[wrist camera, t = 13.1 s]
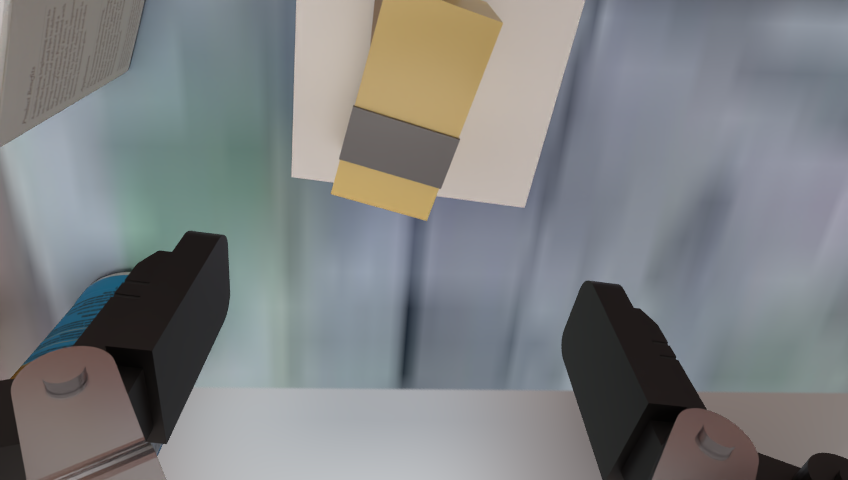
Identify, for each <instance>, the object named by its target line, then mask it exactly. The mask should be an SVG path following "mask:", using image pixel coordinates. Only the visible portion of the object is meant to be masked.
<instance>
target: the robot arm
mask: <svg viewBox="0 0 848 480" xmlns="http://www.w3.org/2000/svg"><path fill="white" fill-rule="evenodd" d="M229 300H230V281H229V260H228V242H227V238H226V236H225V235H220V234H212V233H204V232H196V231H188V232H186V233H185V235H184V236H183V237H182V239H181V240H180V242H179V243H178V244H177V246H176V247H175V249H174V250H173V251H172V252H167V251H157V252H156V253H154V254H152V255H151V256H149V257H147V258H146V259H144V260H142V261H141V262H139V263H138V264H137V265H136V266H135V267H134V269H133V270H132V271H131V272H130V274H129V275H128V276H127V277H126V279H125V282H124V283H122V284H121V285H120V286H119V288H118V289H117V290H116V291H115V293H114V297H111V298H110V299H109V300H108V302H107V303H106V304H105V305H104V307H103V308H102V309H101V310H100V312H99V313H98V314H97V315H96V317H95V318H94V319H93V321H92V322H91V323H90V324H89V326H88V327H87V328H86V329H85V331H84V332H83V333H82V335H81V336H80V337H79V338H78V340H77V341H76V342H75V343H74V345H73V346H72V347H66V348H62V349H58V350H55V351H52V352H49V353H47V354H45V355H42V356H40V357H38V358H37V359H35V360H33V361H32V362H30V363H29V364H28V365H26V366H25V367H24V368H23V369H22V370H21V371H20V372H19V373H18V375H17V376H16V377H15V378H14V379H8V380H2V381H0V480H166V478H165V475H164V473H163V471H162V468H161V465H160V462H159V460H158V457H157V455H156V452H155V450H154V448H153V446H152V444H151V443H160V444H167V442H168V440H169V438H170V436H171V434H172V431H173V429H174V427H175V425H176V423H177V421H178V419H179V416H180V414H181V412H182V410H183V408H184V406H185V404H186V401H187V399H188V397H189V395H190V393H191V391H192V389H193V387H194V385H195V382H196V380H197V378H198V376H199V374H200V372H201V370H202V367H203V365H204V363H205V361H206V359H207V357H208V355H209V352H210V350H211V348H212V346H213V344H214V342H215V340H216V338H217V335H218V333H219V331H220V329H221V327H222V325H223V323H224V320H225V318H226V315H227V311H228V306H229ZM667 343H668V342H667V340H666V338H665V337H664V335H663V333H662V332H661V330H660V328H659V326H658V325H657V324H656V323H655V322H654V321H653V320H652V319H651V318H650V317H649V316H647V315H646V314H645V313H644V312H643V311H642V310H641V309H638V308H633V306H632V304H631V302H630V300H629V298H628V297H627V295H626V293H625V291H624V289H623V288H622V286H621V285H619V284H611V283H603V282H595V281H585V282H584V283H583V284H582V286H581V288H580V290H579V293H578V295H577V298H576V301H575V303H574V306H573V308H572V311H571V313H570V316H569V319H568V321H567V324H566V326H565V329H564V332H563V336H562V356H563V360H564V363H565V366H566V369H567V372H568V375H569V378H570V381H571V385H572V388H573V391H574V394H575V397H576V400H577V403H578V406H579V409H580V412H581V415H582V418H583V421H584V424H585V427H586V431H587V434H588V436H589V440H590V443H591V446H592V449H593V452H594V455H595V458H596V461H597V464H598V467H599V470H600V473H601V476H602V479H603V480H848V459H846V458H844V457H841V456H838V455H835V454H830V453H818V454H815V455H813V456H811V457H810V458H809V459H808V461H807V462H806V463H805V464H804V465H803V467H802V468H799V467H796V466H793V465H791V464H788V463H785V462H783V461H780V460H777V459H774V458H771V457H769V456H766V455H763V454H760V453H758V452H757V450H756V447H755V446H754V444H753V442H752V441H751V440H750V438H749V437H748V436H747V435H746V434H745V433H744V432H743V430H741V429H740V428H739V427H738V426H737V425H736V424H734V423H733V422H731V421H730V420H728V419H727V418H725V417H723V416H721V415H719V414H717V413H715V412H712V411H709V410H707V409H706V407H705V406H704V404H703V402H702V401H701V399H700V398H699V395H698V394H697V392H696V390H695V388H694V387H693V385H692V383H691V382H690V380H689V378H688V376H687V375H686V373H685V371H684V369H683V368H682V366H681V364H680V363H679V361H678V360H676V356H675V354H674V352H673V351H672V349H671V347H670V346H668V345H667ZM146 442H148V443H146Z"/></svg>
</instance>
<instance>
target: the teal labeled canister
mask: <svg viewBox="0 0 848 480" xmlns="http://www.w3.org/2000/svg"><path fill="white" fill-rule="evenodd" d="M129 274H130V272H122V273H116V274H111V275H108V276H105V277H103V278H101V279H99V280H97V281H96V282H94V283H93V284H91V285H90V286H89V287H88V288H87V289H86V290H85V291H84V292H83V294H82V295H81V296H80V297H79V298H78V300H77V301H76V303H75V304H74V306H73V307H72V308H71V309H70V310H69V312H68V313H67V314H66V315H65V316H64V317H63V319H62V320H61V321H60V322H59V323H58V324H57V326H56V327H55V328H54V329H53V330H52V331H51V333H50V334H49V335H48V336H47V337H46V338H45V339H44V341H43V342H42V343H41V344H40V345H39V346H38V347H37V349H36V350H35V351H34V352H33V353H32V354H31V356H30V357H29V358H28V359H27V360H26V361H25V362H24V364H23V365H22V366H21V367H20V368H19V369H18V371H17V372H16V373H15V374H14V375H13V376H12V377H11V379H14V378H15V377H16V376H17V375H18V373H19V372H20V371H21V370H22V369H23V368H24V367H25V366H26V365H28V364H29V363H30V362H32V361H33V360H35V359H37V358H38V357H40V356H42V355H45V354H47V353H49V352H52V351H55V350H58V349H62V348H66V347H72V346H73V345H74V343H75V342H76V341H77V340H78V338H79V337H80V336H81V335H82V333H83V332H84V331H85V329H86V328H87V327H88V326H89V324H90V323H91V322H92V321H93V319H94V318H95V317H96V315H97V314H98V313H99V312H100V310H101V309H102V308H103V307H104V305H105V304H106V303H107V302H108V300H109V299H110V298H111V297H114V293H115V291H116V290H117V289H118V288H119V286H120V285H121V284H122V283H124V282H125V279H126V277H127V276H128V275H129ZM146 443H148V442H146ZM151 444H152V446H153V448H154V450H155V452H156V455H157V456H158V454H159V451H160V449H161V447H162V445H163V444H160V443H151Z"/></svg>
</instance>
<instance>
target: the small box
mask: <svg viewBox="0 0 848 480" xmlns="http://www.w3.org/2000/svg"><path fill="white" fill-rule="evenodd" d="M144 2H145V0H0V147H2V146H3V145H5V144H6V143H8V142H10V141H12V140H13V139H15V138H17V137H18V136H20V135H22V134H23V133H25V132H27V131H28V130H30V129H32V128H33V127H35V126H36V125H38V124H40V123H42V122H43V121H45V120H47V119H48V118H50V117H52V116H53V115H55V114H57V113H59V112H60V111H62V110H64V109H65V108H67V107H68V106H70V105H72V104H74V103H75V102H77V101H79V100H80V99H82V98H84V97H85V96H87V95H89V94H90V93H92V92H94V91H95V90H97V89H99V88H100V87H102V86H104V85H106V84H107V83H109V82H110V81H112V80H114V79H115V78H117V77H119V76H120V75H122V74H124V73H125V72H127V71H128V69H129V65H130V61H131V56H132V52H133V48H134V44H135V40H136V36H137V31H138V27H139V23H140V19H141V15H142V10H143V6H144Z"/></svg>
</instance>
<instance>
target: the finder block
mask: <svg viewBox="0 0 848 480" xmlns="http://www.w3.org/2000/svg"><path fill="white" fill-rule="evenodd" d="M502 25H503V22H502V21H501V19H500V18H499V17H498V16H497V14H496V13H495V12H494V11H493V9H492V8H491V7H490V6H489V4H488V3H487V2H484V1H481V0H383V2H382V5H381V9H380V13H379V16H378V20H377V24H376V28H375V31H374V35H373V39H372V42H371V46H370V50H369V54H368V57H367V61H366V65H365V69H364V72H363V76H362V80H361V83H360V87H359V91H358V95H357V98H356V102H355V105H353V108H352V112H351V116H350V119H349V123H348V127H347V131H346V134H345V138H344V142H343V146H342V149H341V153H340V157H339V159H340V162H339V165H338V169H337V173H336V176H335V180H334V184H333V188H332V191H331V194H333V195H336V196H340V197H343V198H347V199H350V200H354V201H358V202H361V203H365V204H368V205H372V206H376V207H379V208H383V209H386V210H390V211H393V212H397V213H401V214H404V215H408V216H411V217H415V218H418V219H422V220H426V221H427V219H428V216H429V214H430V211H431V209H432V206H433V203H434V201H435V198H436V196H437V193H438V190H439V189H441V188H442V185H443V183H444V180H445V177H446V175H447V172H448V170H449V167H450V165H451V162H452V159H453V157H454V154H455V152H456V149H457V147H458V144H459V141H460V138H459V136H460V134H461V131H462V128H463V126H464V123H465V121H466V118H467V115H468V113H469V110H470V108H471V105H472V102H473V100H474V97H475V95H476V92H477V90H478V87H479V84H480V82H481V79H482V77H483V74H484V71H485V69H486V66H487V64H488V61H489V59H490V56H491V53H492V51H493V48H494V46H495V43H496V40H497V38H498V35H499V33H500V30H501V27H502Z"/></svg>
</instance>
